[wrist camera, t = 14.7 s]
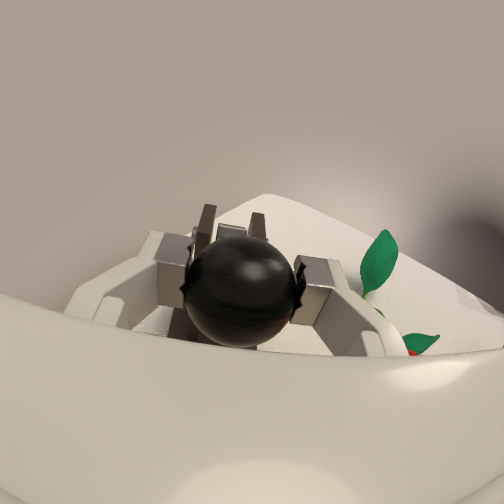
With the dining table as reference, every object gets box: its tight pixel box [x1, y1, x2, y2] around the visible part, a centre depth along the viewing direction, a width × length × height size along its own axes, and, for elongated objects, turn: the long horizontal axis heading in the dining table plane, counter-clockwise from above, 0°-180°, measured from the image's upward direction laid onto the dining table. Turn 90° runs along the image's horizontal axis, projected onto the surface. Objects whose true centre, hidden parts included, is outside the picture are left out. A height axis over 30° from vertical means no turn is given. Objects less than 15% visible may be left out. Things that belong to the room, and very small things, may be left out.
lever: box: [184, 223, 297, 348], centre depth 16 cm, size 17×4×4 cm, turn 0°
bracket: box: [167, 204, 269, 350], centre depth 26 cm, size 10×9×14 cm
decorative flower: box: [360, 230, 440, 356], centre depth 29 cm, size 14×30×10 cm, turn 155°
